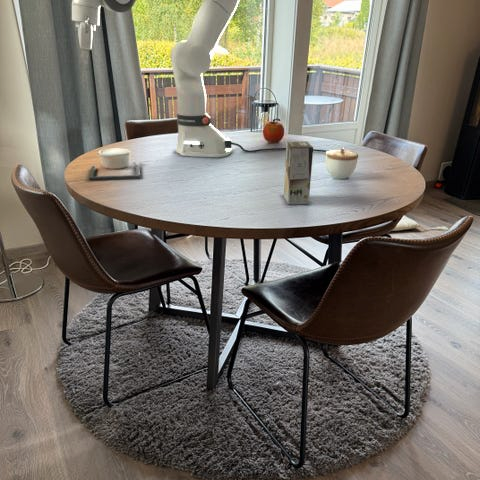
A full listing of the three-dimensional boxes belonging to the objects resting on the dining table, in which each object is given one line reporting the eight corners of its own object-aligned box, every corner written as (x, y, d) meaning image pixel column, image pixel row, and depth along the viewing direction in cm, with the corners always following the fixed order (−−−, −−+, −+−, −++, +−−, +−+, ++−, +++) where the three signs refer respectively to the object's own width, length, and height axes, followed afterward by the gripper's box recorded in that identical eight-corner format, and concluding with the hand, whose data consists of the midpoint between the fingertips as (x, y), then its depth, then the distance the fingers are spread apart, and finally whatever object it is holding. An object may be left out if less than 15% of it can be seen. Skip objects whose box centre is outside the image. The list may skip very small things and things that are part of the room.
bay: (92, 169, 176) (91, 166, 175) (139, 167, 178) (138, 164, 178) (89, 180, 163) (89, 177, 162) (140, 178, 166) (139, 175, 165)
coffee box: (309, 204, 144) (314, 147, 136) (287, 204, 144) (291, 147, 135) (303, 195, 152) (307, 140, 144) (282, 195, 152) (285, 140, 143)
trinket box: (357, 174, 174) (361, 146, 169) (353, 182, 165) (356, 153, 160) (327, 171, 177) (329, 143, 172) (321, 178, 168) (324, 150, 163)
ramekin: (97, 163, 182) (95, 148, 179) (128, 161, 186) (126, 146, 183) (103, 171, 173) (101, 155, 170) (134, 168, 177) (133, 153, 174)
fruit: (272, 138, 224) (273, 115, 219) (288, 142, 218) (289, 118, 213) (257, 141, 218) (258, 117, 213) (273, 145, 212) (274, 120, 207)
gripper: (96, 18, 156) (95, 66, 162) (94, 19, 173) (93, 63, 179) (75, 14, 154) (75, 63, 160) (75, 16, 171) (75, 60, 177)
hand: (85, 63), depth 170 cm, fingers open, 8 cm apart
